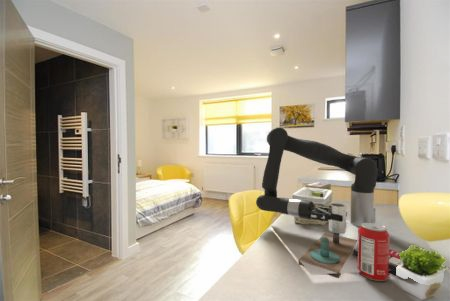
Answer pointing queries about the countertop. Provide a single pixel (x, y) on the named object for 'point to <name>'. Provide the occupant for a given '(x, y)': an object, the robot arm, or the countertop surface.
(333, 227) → the sleeve
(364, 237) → the soda can
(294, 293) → the countertop surface
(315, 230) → the countertop surface
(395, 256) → the calculator
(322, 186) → the tea box
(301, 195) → the storage basket
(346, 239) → the jig board
